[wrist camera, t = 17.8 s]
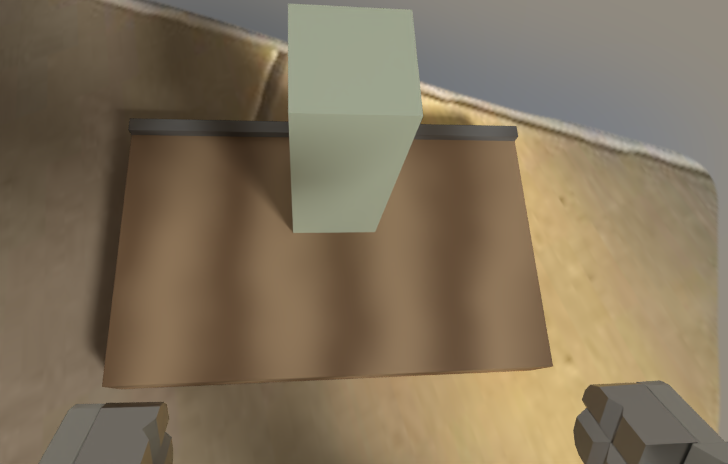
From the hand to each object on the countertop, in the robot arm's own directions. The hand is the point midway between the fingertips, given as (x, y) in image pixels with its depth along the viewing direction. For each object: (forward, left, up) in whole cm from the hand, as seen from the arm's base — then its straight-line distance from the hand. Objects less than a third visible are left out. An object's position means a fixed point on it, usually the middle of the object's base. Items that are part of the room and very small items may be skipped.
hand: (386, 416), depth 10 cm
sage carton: (-7, +11, -19) cm, 23 cm away
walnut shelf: (-5, +8, -22) cm, 24 cm away
